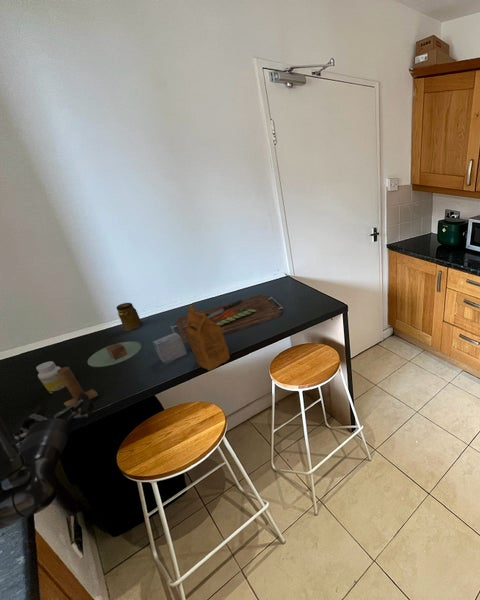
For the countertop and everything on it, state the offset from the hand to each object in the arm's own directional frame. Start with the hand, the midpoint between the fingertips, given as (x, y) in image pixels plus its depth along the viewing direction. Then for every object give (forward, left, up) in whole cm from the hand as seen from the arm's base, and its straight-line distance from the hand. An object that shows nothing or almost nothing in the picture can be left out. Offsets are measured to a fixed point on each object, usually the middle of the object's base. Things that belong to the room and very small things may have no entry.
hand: (63, 401), depth 88 cm
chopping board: (+60, +15, -9) cm, 63 cm away
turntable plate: (+21, +29, -9) cm, 37 cm away
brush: (+4, +8, -9) cm, 12 cm away
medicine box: (+31, +8, -9) cm, 33 cm away
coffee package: (+37, -7, -9) cm, 39 cm away
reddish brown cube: (+21, +26, -8) cm, 34 cm away
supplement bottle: (+3, +24, -9) cm, 26 cm away
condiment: (+35, +44, -9) cm, 57 cm away
